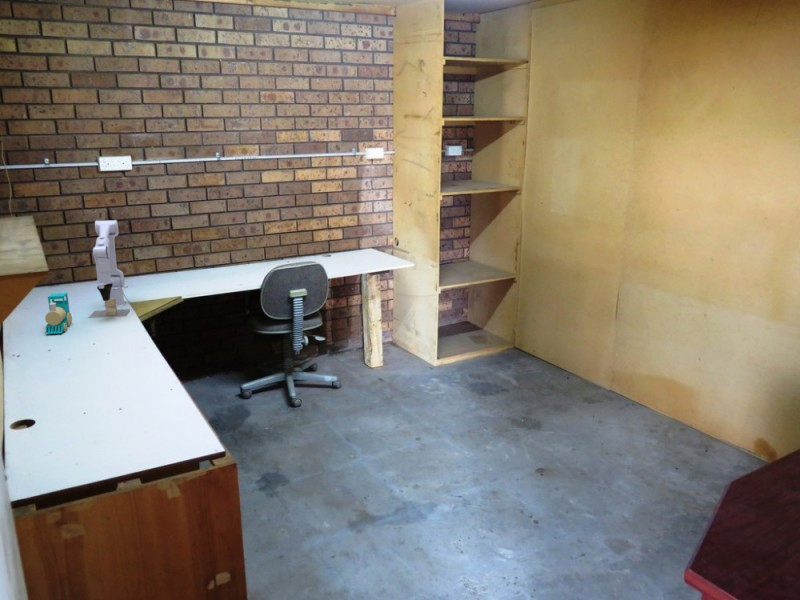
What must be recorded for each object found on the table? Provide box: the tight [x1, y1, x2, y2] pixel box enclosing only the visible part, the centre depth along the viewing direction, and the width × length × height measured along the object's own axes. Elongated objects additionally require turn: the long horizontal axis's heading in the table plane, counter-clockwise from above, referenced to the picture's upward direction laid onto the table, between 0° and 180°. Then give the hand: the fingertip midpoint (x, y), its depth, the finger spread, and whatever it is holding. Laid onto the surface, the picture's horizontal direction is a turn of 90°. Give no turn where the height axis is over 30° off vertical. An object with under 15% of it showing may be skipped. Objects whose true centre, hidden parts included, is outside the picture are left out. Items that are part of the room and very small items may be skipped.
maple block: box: [104, 298, 118, 316], centre depth 297 cm, size 4×4×8 cm
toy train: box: [44, 292, 73, 335], centre depth 273 cm, size 8×17×15 cm, turn 15°
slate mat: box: [87, 308, 131, 319], centre depth 300 cm, size 13×17×1 cm
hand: (106, 300), depth 289 cm, fingers closed
